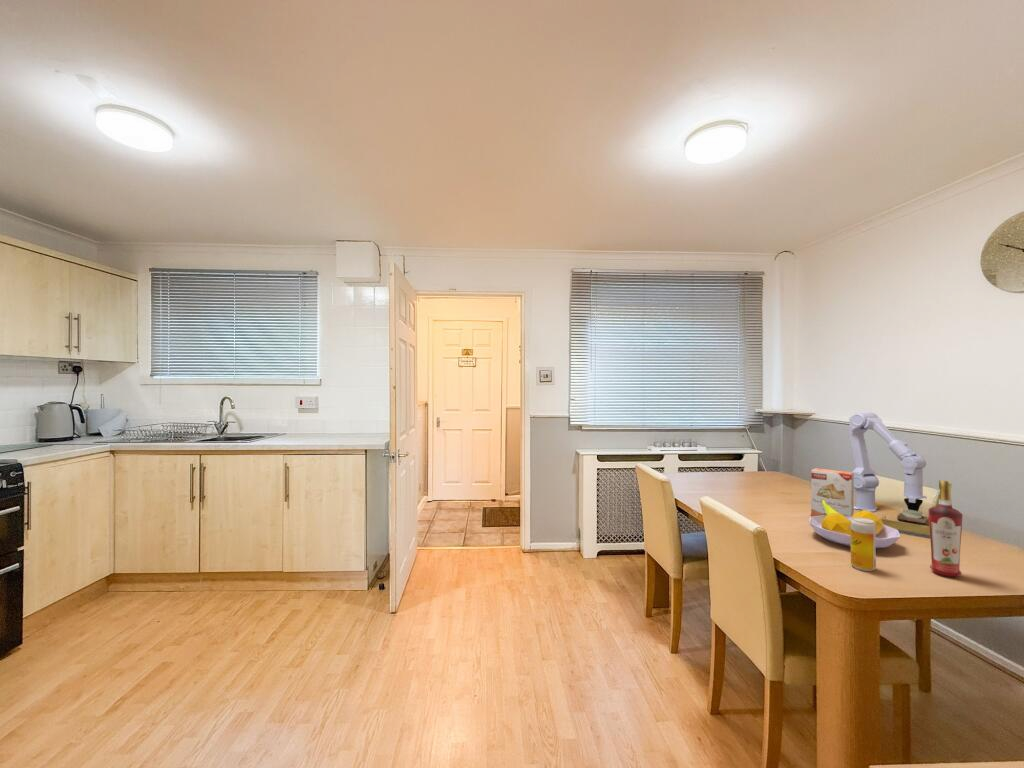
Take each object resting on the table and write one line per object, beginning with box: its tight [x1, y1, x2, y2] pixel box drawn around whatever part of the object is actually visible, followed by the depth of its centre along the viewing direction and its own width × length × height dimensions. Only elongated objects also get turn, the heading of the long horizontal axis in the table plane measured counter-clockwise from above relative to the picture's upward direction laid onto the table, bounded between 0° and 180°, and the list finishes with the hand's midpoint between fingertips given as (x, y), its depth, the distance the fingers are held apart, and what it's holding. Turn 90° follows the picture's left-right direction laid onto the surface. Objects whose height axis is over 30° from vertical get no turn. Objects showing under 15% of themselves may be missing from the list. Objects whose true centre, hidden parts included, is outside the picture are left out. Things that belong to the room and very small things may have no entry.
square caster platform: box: [896, 508, 928, 526], centre depth 180 cm, size 10×9×5 cm
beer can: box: [850, 518, 877, 572], centre depth 137 cm, size 6×6×15 cm
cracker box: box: [810, 467, 855, 517], centre depth 185 cm, size 14×6×21 cm, turn 45°
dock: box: [880, 514, 931, 540], centre depth 173 cm, size 16×18×4 cm
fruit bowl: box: [808, 500, 901, 549], centre depth 161 cm, size 28×27×11 cm
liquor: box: [928, 480, 963, 578], centre depth 132 cm, size 7×7×28 cm
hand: (913, 516), depth 184 cm, fingers closed
